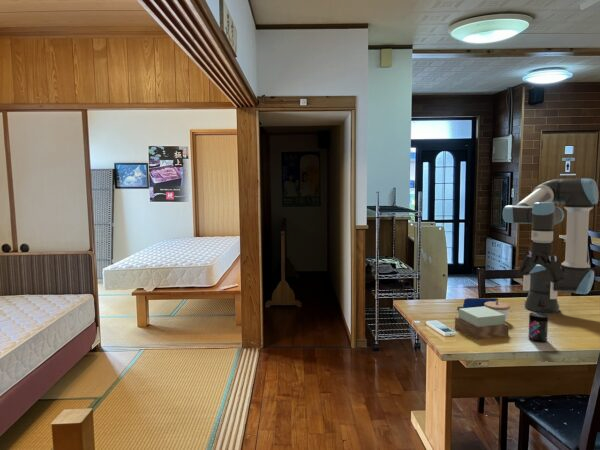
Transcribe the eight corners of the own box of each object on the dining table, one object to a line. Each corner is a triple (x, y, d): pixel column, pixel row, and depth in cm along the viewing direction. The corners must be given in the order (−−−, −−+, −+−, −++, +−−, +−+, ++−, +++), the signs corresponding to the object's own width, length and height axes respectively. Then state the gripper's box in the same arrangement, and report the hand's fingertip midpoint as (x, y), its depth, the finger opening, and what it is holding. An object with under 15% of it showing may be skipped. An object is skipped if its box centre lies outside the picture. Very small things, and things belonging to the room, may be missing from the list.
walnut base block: (483, 325, 192) (484, 314, 192) (508, 336, 178) (508, 324, 177) (454, 328, 188) (455, 317, 188) (477, 340, 174) (477, 328, 173)
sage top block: (484, 315, 190) (484, 306, 190) (505, 324, 178) (505, 314, 177) (458, 317, 187) (458, 308, 187) (477, 327, 174) (478, 317, 174)
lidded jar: (510, 319, 198) (511, 299, 198) (508, 326, 189) (508, 305, 188) (485, 316, 204) (485, 296, 203) (482, 322, 195) (482, 302, 194)
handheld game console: (488, 309, 215) (488, 291, 214) (498, 317, 202) (499, 298, 201) (456, 309, 217) (456, 291, 216) (464, 317, 203) (465, 298, 202)
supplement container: (527, 336, 177) (528, 311, 176) (546, 338, 174) (547, 313, 173) (528, 341, 170) (529, 316, 169) (548, 343, 168) (549, 318, 167)
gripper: (510, 238, 180) (508, 287, 181) (560, 245, 156) (558, 303, 157) (525, 237, 181) (523, 286, 183) (577, 245, 157) (574, 301, 159)
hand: (539, 294), depth 170 cm, fingers open, 13 cm apart
